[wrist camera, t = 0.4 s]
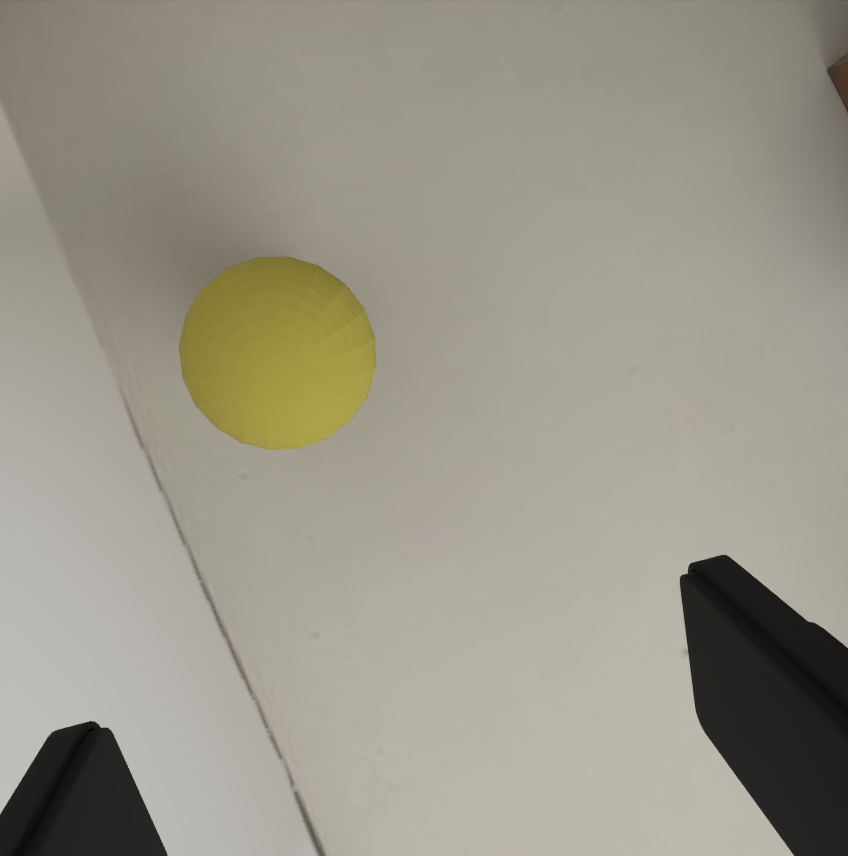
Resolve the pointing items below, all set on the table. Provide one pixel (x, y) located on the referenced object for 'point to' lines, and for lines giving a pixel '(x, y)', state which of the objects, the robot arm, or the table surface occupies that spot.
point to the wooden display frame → (841, 77)
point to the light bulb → (277, 353)
